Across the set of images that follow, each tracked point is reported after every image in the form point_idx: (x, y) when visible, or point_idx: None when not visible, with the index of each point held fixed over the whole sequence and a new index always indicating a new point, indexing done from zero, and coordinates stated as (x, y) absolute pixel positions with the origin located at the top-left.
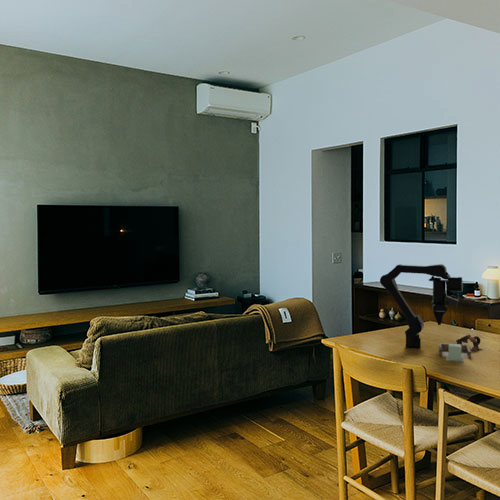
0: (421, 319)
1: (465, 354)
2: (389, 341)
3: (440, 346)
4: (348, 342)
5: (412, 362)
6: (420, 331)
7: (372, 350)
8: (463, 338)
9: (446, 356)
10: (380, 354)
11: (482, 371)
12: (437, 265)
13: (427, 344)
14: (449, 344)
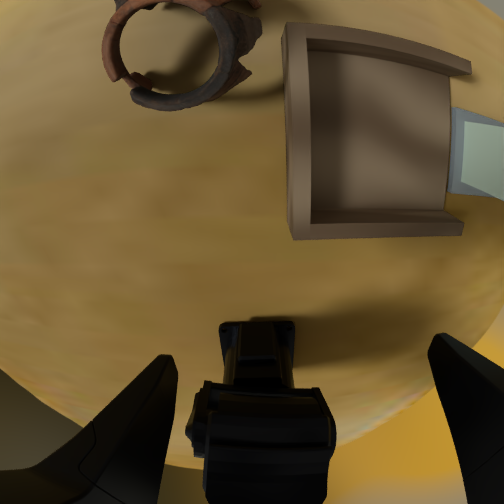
0: (223, 469)
1: (379, 68)
2: (177, 409)
3: (393, 230)
4: None
5: (489, 313)
6: (315, 399)
7: (342, 428)
8: (238, 40)
9: (452, 189)
10: (393, 404)
11: None
12: None
13: (150, 284)
14: None
